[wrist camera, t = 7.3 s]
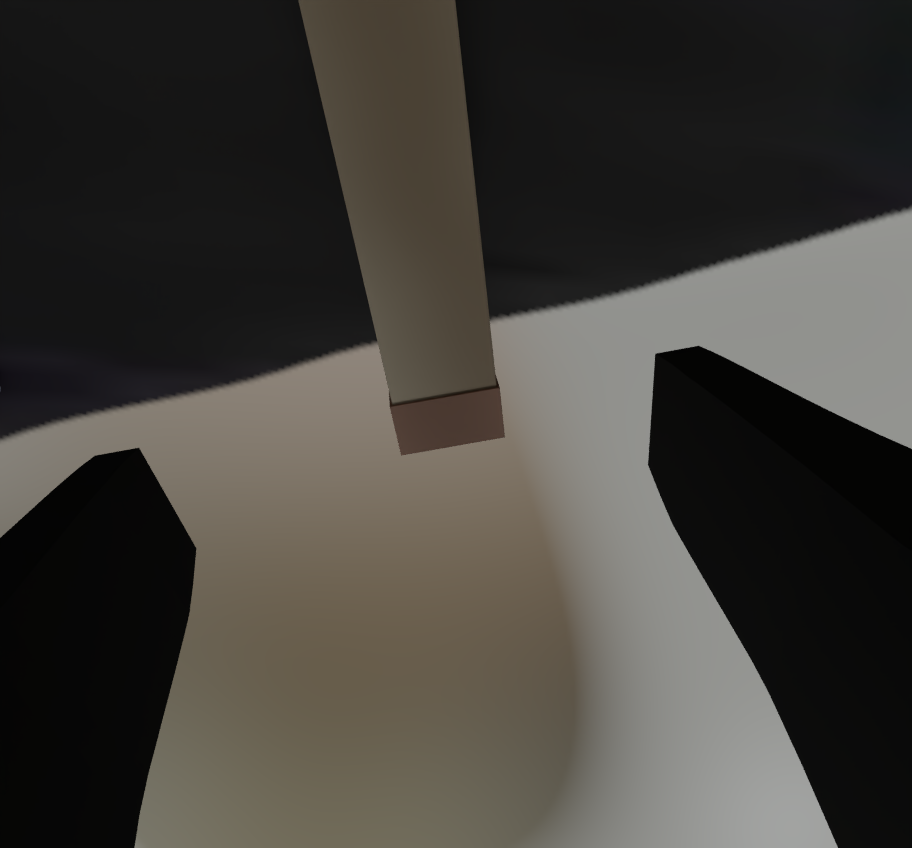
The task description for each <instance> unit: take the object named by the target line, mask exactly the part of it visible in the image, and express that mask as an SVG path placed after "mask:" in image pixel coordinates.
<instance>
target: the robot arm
mask: <svg viewBox="0 0 912 848" xmlns="http://www.w3.org/2000/svg"><path fill="white" fill-rule="evenodd" d="M0 389H1V387H0ZM649 445H650V446H649V460H648V466H649V468H650V471H651V473H652V476H653V478H654V481H655V483H656V486H657V488H658V491H659V493H660V496H661V498H662V501H663V503H664V505H665V508H666V510H667V512H668V514H669V517H670V519H671V521H672V524H673V526H674V527H675V529H676V531H677V533H678V535H679V536H680V538H681V540H682V542H683V543H684V545H685V547H686V549H687V550H688V552H689V554H690V556H691V557H692V559H693V561H694V562H695V564H696V566H697V568H698V569H699V571H700V573H701V574H702V576H703V578H704V579H705V581H706V583H707V585H708V586H709V588H710V590H711V592H712V593H713V595H714V597H715V598H716V600H717V602H718V604H719V605H720V607H721V609H722V610H723V612H724V614H725V615H726V617H727V619H728V621H729V622H730V624H731V626H732V627H733V629H734V631H735V633H736V634H737V636H738V638H739V639H740V641H741V643H742V645H743V646H744V648H745V650H746V651H747V653H748V655H749V657H750V658H751V660H752V662H753V663H754V666H755V668H756V669H757V671H758V673H759V675H760V677H761V679H762V681H763V683H764V684H765V686H766V688H767V690H768V692H769V694H770V696H771V698H772V701H773V703H774V705H775V707H776V709H777V711H778V714H779V716H780V718H781V720H782V722H783V724H784V727H785V729H786V731H787V733H788V735H789V737H790V740H791V742H792V744H793V746H794V748H795V750H796V753H797V755H798V757H799V759H800V761H801V764H802V766H803V768H804V770H805V773H806V775H807V777H808V780H809V782H810V784H811V786H812V789H813V791H814V793H815V796H816V798H817V800H818V802H819V805H820V807H821V810H822V812H823V814H824V816H825V819H826V821H827V823H828V826H829V828H830V830H831V833H832V835H833V837H834V839H835V842H836V844H837V846H838V848H912V449H911V448H908V447H906V446H904V445H901V444H899V443H897V442H895V441H892V440H890V439H888V438H886V437H883V436H881V435H879V434H876V433H875V432H872V431H870V430H868V429H866V428H864V427H862V426H859V425H858V424H855V423H853V422H851V421H849V420H847V419H845V418H843V417H841V416H839V415H837V414H835V413H832V412H831V411H828V410H826V409H824V408H822V407H820V406H818V405H816V404H814V403H812V402H810V401H808V400H806V399H804V398H802V397H801V396H799V395H797V394H794V393H792V392H791V391H789V390H787V389H785V388H783V387H781V386H779V385H777V384H775V383H773V382H771V381H769V380H767V379H765V378H764V377H762V376H760V375H758V374H755V373H754V372H752V371H750V370H748V369H746V368H744V367H742V366H740V365H738V364H736V363H734V362H732V361H730V360H728V359H726V358H724V357H722V356H720V355H718V354H716V353H714V352H712V351H709V350H707V349H705V348H702V347H700V346H696V347H690V348H685V349H679V350H674V351H668V352H663V353H657V354H656V355H655V368H654V383H653V399H652V415H651V430H650V444H649ZM195 557H196V547H195V546H194V544H193V542H192V540H191V538H190V537H189V535H188V533H187V531H186V530H185V528H184V526H183V524H182V522H181V521H180V519H179V517H178V515H177V514H176V512H175V510H174V508H173V507H172V505H171V503H170V501H169V500H168V498H167V496H166V494H165V493H164V491H163V489H162V487H161V486H160V484H159V482H158V480H157V479H156V477H155V475H154V473H153V472H152V470H151V468H150V466H149V465H148V463H147V461H146V459H145V458H144V456H143V454H142V452H141V450H140V449H139V448H135V449H130V450H124V451H119V452H113V453H108V454H102V455H97V456H94V457H93V458H91V459H90V460H89V461H88V462H86V463H85V464H83V465H82V466H81V467H80V468H78V469H77V470H76V471H75V472H74V473H72V474H71V475H70V476H69V477H68V478H66V480H64V481H63V482H62V483H61V484H60V485H58V486H57V487H56V488H55V489H54V490H53V491H52V492H50V493H49V494H48V495H47V496H46V497H45V498H44V499H43V500H42V501H40V502H39V503H38V504H37V505H36V506H35V507H34V508H33V509H32V510H31V511H29V513H27V514H26V515H25V516H24V517H23V518H22V519H21V520H20V521H18V523H16V524H15V525H14V526H13V527H12V528H11V529H10V530H9V531H7V532H6V533H5V534H4V535H3V536H2V537H1V538H0V848H134V846H135V840H136V834H137V826H138V820H139V815H140V810H141V805H142V800H143V796H144V791H145V787H146V782H147V777H148V773H149V769H150V765H151V761H152V757H153V754H154V750H155V746H156V742H157V739H158V734H159V731H160V727H161V723H162V719H163V715H164V711H165V708H166V704H167V700H168V696H169V693H170V689H171V685H172V681H173V677H174V674H175V670H176V666H177V661H178V658H179V653H180V650H181V646H182V642H183V638H184V634H185V629H186V626H187V621H188V617H189V612H190V604H191V596H192V588H193V579H194V568H195Z"/></svg>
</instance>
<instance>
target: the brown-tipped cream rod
mask: <svg viewBox="0 0 912 848" xmlns="http://www.w3.org/2000/svg"><path fill="white" fill-rule="evenodd" d="M298 1H299V5H300V9H301V14H302V18H303V22H304V27H305V31H306V35H307V39H308V44H309V48H310V52H311V57H312V61H313V65H314V70H315V74H316V78H317V83H318V87H319V91H320V95H321V100H322V104H323V108H324V113H325V117H326V121H327V126H328V130H329V134H330V138H331V143H332V147H333V151H334V156H335V160H336V164H337V169H338V173H339V177H340V181H341V186H342V190H343V194H344V199H345V203H346V207H347V212H348V216H349V220H350V225H351V229H352V233H353V237H354V242H355V246H356V250H357V255H358V259H359V263H360V268H361V272H362V276H363V280H364V285H365V289H366V293H367V298H368V302H369V306H370V311H371V315H372V319H373V323H374V328H375V332H376V336H377V341H378V345H379V349H380V354H381V358H382V362H383V367H384V370H385V375H386V379H387V384H388V388H389V397H390V398H389V400H390V409H391V414H392V418H393V422H394V426H395V431H396V434H397V439H398V443H399V447H400V452H401V455H406V454H412V453H418V452H423V451H429V450H435V449H440V448H446V447H452V446H457V445H463V444H468V443H474V442H480V441H486V440H491V439H497V438H503V437H505V435H504V425H503V415H502V406H501V396H500V388H499V384H498V381H497V378H496V375H495V367H494V358H493V349H492V340H491V331H490V321H489V311H488V302H487V293H486V283H485V274H484V265H483V255H482V246H481V237H480V227H479V218H478V209H477V200H476V190H475V181H474V172H473V162H472V153H471V144H470V134H469V125H468V116H467V106H466V97H465V88H464V78H463V69H462V60H461V50H460V41H459V32H458V22H457V13H456V4H455V0H298Z"/></svg>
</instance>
